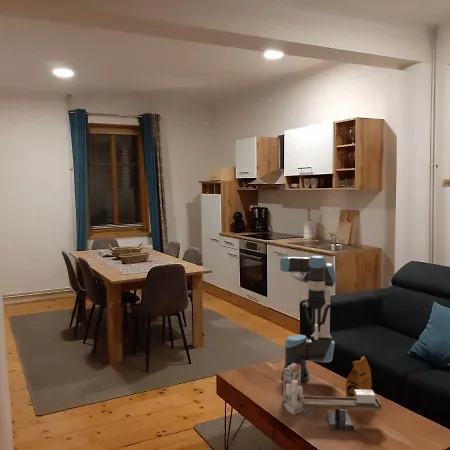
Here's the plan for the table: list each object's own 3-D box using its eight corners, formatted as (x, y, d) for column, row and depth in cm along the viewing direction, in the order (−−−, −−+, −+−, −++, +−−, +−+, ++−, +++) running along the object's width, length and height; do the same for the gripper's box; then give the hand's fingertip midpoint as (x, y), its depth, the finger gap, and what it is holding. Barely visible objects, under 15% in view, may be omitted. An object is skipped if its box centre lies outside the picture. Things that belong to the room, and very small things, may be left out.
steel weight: (354, 400, 213) (354, 389, 212) (372, 400, 212) (372, 389, 212) (356, 405, 207) (356, 394, 207) (375, 406, 207) (375, 395, 206)
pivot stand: (326, 415, 218) (326, 396, 218) (348, 416, 218) (348, 397, 217) (331, 430, 204) (331, 410, 204) (354, 431, 204) (355, 411, 203)
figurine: (307, 411, 222) (307, 380, 221) (292, 417, 216) (292, 385, 215) (296, 406, 228) (296, 375, 227) (281, 411, 222) (281, 380, 221)
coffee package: (342, 403, 231) (342, 359, 229) (356, 396, 239) (357, 353, 237) (359, 410, 223) (360, 365, 222) (374, 402, 231) (375, 358, 230)
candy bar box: (291, 404, 230) (292, 371, 229) (282, 401, 233) (282, 369, 232) (301, 395, 239) (301, 364, 238) (292, 393, 242) (292, 362, 241)
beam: (300, 406, 216) (301, 393, 216) (376, 409, 214) (376, 395, 213) (302, 415, 207) (303, 402, 207) (381, 418, 205) (381, 404, 205)
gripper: (303, 290, 217) (302, 341, 219) (332, 291, 216) (331, 341, 218) (301, 287, 224) (301, 336, 226) (329, 287, 224) (328, 336, 225)
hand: (316, 338), depth 222 cm, fingers closed
